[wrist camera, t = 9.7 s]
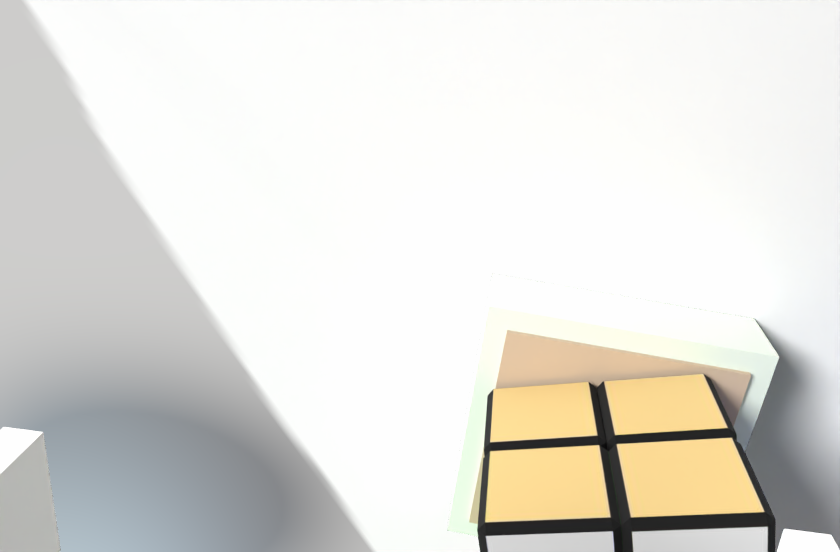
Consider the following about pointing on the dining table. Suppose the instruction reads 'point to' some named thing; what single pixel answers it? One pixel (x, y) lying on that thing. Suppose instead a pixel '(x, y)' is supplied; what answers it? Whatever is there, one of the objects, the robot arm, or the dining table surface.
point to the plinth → (601, 359)
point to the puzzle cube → (618, 471)
